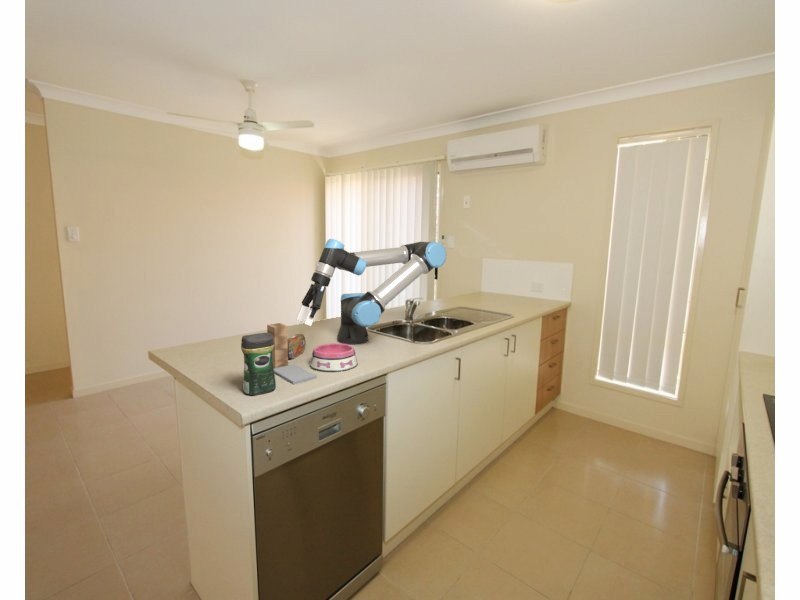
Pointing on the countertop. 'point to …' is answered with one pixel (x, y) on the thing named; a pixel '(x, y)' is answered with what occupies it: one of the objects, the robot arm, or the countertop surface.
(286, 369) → the mat
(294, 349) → the tin
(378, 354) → the countertop surface
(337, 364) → the dog bowl
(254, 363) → the coffee jar
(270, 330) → the walnut block
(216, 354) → the countertop surface
